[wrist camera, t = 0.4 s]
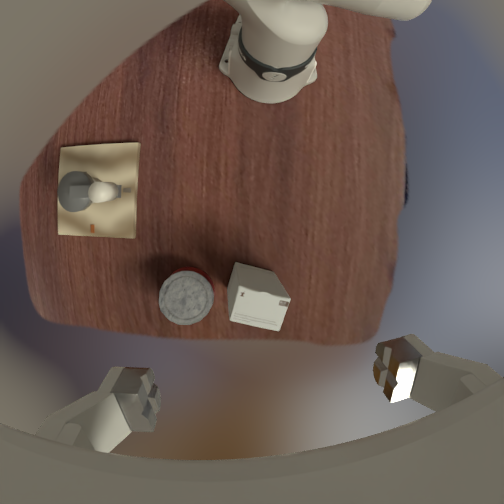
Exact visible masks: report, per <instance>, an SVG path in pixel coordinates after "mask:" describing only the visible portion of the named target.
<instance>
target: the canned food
mask: <svg viewBox="0 0 504 504" xmlns="http://www.w3.org/2000/svg"><path fill="white" fill-rule="evenodd" d="M214 293H215V291H214V285H213V282H212V280H211V278H210V277H209V276H208V275H207V274H206V273H205V272H204V271H202V270H200V269H198V268H195V267H183V268H179V269H177V270H176V271H174V272H173V273H172V274H171V275H170V276H169V278H168V279H167V280H166V281H164V283H163V285H162V287H161V289H160V292H159V306H160V310H161V312H162V313H163V314H164V315H165V316H166V317H167V319H168V320H170V321H172V322H174V323H177V324H179V325H191V324H193V323H196V322H199V321H200V320H202V319H203V318H204V317H205V316H206V315H207V314H208V312H209V310H210V308H211V307H212V304H213V300H214Z"/></svg>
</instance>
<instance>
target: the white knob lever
mask: <svg viewBox="0 0 504 504" xmlns="http://www.w3.org/2000/svg"><path fill="white" fill-rule="evenodd" d="M121 187H122V185H117V184H116V183H114V182H94V181H93V179H92V177H91V176H90V175H89V174H88V173H86V172H82V171H71V172H69V173H67V174H66V175H64V176H63V178H62V179H61V181H60V183H59V186H58V200H59V202H60V204H61V206H62V207H63V208H64V209H65V210H66V211H69V212H78V211H82V210H85V209H87V208H88V207H89V206H90V205H91V203H92V202H94V203H100V202H107V201H113V200H115V199H116V198H121Z"/></svg>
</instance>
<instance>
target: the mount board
mask: <svg viewBox="0 0 504 504" xmlns="http://www.w3.org/2000/svg"><path fill="white" fill-rule="evenodd" d="M140 145H141V144H140V143H114V144H97V145H84V146H72V147H62V148H61V151H60V163H59V178H58V186H59V183H60V181H61V179H62V178H63V176H64V175H66V174H67V173H69V172H71V171H82V172H86V173H88V174H89V175H90V176H91V177H92V179H93V181H94V182H114V183H116V184H117V185H122V187H121V198H116V199H115V200H113V201H107V202H100V203H94V202H92V203H91V205H90V206H89V207H88V208H87V209H85V210H82V211H78V212H69V211H66V210H65V209H64V208H63V207H62V206H61V204H60V202H59V200H58V234H59V235H79V236H98V237H116V238H135V237H136V206H137V184H138V168H139V156H140Z"/></svg>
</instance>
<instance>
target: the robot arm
mask: <svg viewBox="0 0 504 504" xmlns="http://www.w3.org/2000/svg"><path fill="white" fill-rule="evenodd" d="M224 1H225V2H227V3H228V4H229V5H231V6H232V7H233V8H234V9H235V10H237V12H238V13H239V14H240V15H239V16H238V19H237V21H236V23H235V24H233V26H232V29H231V35H230V38H229V40H228V43H227V46H226V48H225V51H224V53H223V56H222V59H221V61H220V64H219V70H220V71H221V72H222V73H223V74H225V75H226V76H228V77H229V78H230V79H231V80H232V81H233V83H234V84H235V86H236V87H237V88H238V90H239V91H240V92H241V93H243V94H244V95H245V96H247V97H248V98H250V99H252V100H255V101H258V102H262V103H279V102H283V101H286V100H288V99H290V98H292V97H293V96H295V95H296V94H297V93H298V92H299V91H300V90H301V89H302V88H303V87H304V86H305V85H308V84H310V83H312V82H314V81H315V80H316V78H317V72H316V65H317V62H316V61H315V57H314V56H315V54H316V51H317V46H318V44H319V42H320V41H321V39H322V38H323V36H324V35H325V33H326V31H327V27H328V17H327V13H326V11H325V9H324V7H323V5H322V4H326V5H330V6H335V7H339V8H343V9H347V10H350V11H354V12H358V13H361V14H365V15H371V16H378V17H383V18H390V19H396V20H403V21H406V20H410V19H413V18H415V17H417V16H418V15H420V14H421V13H423V12H424V11H425V10H426V9H427V7H428V6H429V4H430V3H431V1H432V0H224ZM225 61H228V63H226V62H225ZM375 353H376V354H377V356H378V358H377V359H376V360H375V362H374V366H373V373H374V378H375V381H376V382H377V384H378V385H379V386H382V387H384V390H383V393H384V394H385V396H386V397H387V399H388V400H389V402H390V403H392V402H395V401H399V400H402V399H406V398H409V397H410V398H411V399H413V400H415V401H416V402H418V403H420V404H422V405H424V406H426V407H428V408H430V409H432V410H434V411H436V412H435V413H433V414H430V415H428V416H426V417H423V418H421V419H418V420H416V421H413V422H410V423H408V424H405V425H402V426H400V427H397V428H394V429H391V430H388V431H385V432H381V433H378V434H375V435H371V436H368V437H365V438H361V439H357V440H353V441H350V442H346V443H341V444H337V445H333V446H328V447H324V448H319V449H313V450H308V451H303V452H297V453H290V454H283V455H276V456H267V457H259V458H247V459H232V460H231V459H230V460H169V459H155V458H144V457H134V456H126V455H118V454H112V453H109V452H110V451H111V450H112V449H113V448H114V447H116V445H118V444H119V443H120V442H121V441H122V440H123V439H124V438H125V437H126V436H128V435H129V434H130V433H131V431H143V432H153V431H154V428H155V424H156V420H157V419H156V416H155V414H156V413H157V412H159V410H160V405H161V397H160V392H159V388H158V387H157V386H156V385H155V384H154V383H153V382H154V379H155V376H154V373H153V370H152V369H151V368H133V367H112V368H111V369H110V371H109V372H108V374H107V376H106V378H105V379H104V381H103V383H102V384H101V386H100V387H99V389H98V391H97V392H94V391H93V392H92V393H90V394H88V395H87V396H84V397H83V398H81V399H79V400H77V401H75V402H74V403H72V404H70V405H68V406H66V407H64V408H62V409H61V410H59V411H57V412H55V413H53V414H51V415H49V416H47V417H46V419H45V420H44V422H43V423H42V425H41V426H40V428H39V430H38V431H37V433H36V434H35V435H32V434H29V433H26V432H23V431H20V430H18V429H15V428H12V427H10V426H7V425H4V424H2V423H0V504H504V377H503V378H502V377H501V376H500V375H499V374H497V373H496V372H495V371H494V370H493V369H491V368H490V367H489V366H488V365H487V364H483V363H479V362H475V361H471V360H466V359H463V358H459V357H454V356H451V355H448V354H443V353H440V352H436V353H434V352H433V351H432V350H431V349H430V348H429V347H428V346H427V345H425V344H424V343H423V342H422V341H421V340H420V339H419V338H418V337H417V336H415V335H414V334H409V335H406V336H402V337H400V338H396V339H392V340H388V341H385V342H380V343H378V344H377V346H376V352H375Z"/></svg>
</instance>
